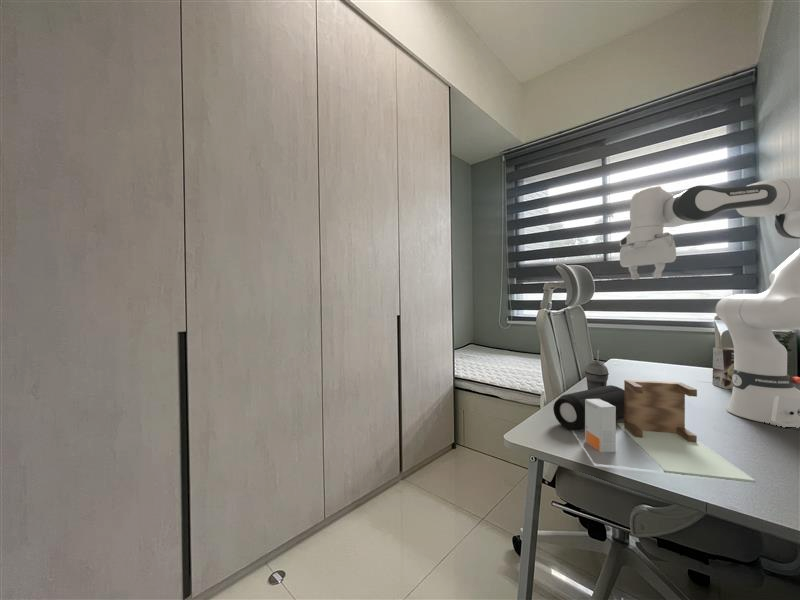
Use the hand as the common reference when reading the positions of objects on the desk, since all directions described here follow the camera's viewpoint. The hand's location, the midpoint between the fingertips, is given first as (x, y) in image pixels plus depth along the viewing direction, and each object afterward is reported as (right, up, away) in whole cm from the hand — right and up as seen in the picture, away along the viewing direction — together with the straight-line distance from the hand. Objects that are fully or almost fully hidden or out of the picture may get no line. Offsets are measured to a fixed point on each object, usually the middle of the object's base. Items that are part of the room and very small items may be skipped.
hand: (645, 278), depth 104 cm
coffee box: (+54, -43, +24) cm, 74 cm away
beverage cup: (-12, -45, +7) cm, 47 cm away
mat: (-12, -45, -24) cm, 53 cm away
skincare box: (-31, -46, -24) cm, 60 cm away
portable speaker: (-22, -46, -7) cm, 51 cm away
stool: (-10, -45, -18) cm, 49 cm away
